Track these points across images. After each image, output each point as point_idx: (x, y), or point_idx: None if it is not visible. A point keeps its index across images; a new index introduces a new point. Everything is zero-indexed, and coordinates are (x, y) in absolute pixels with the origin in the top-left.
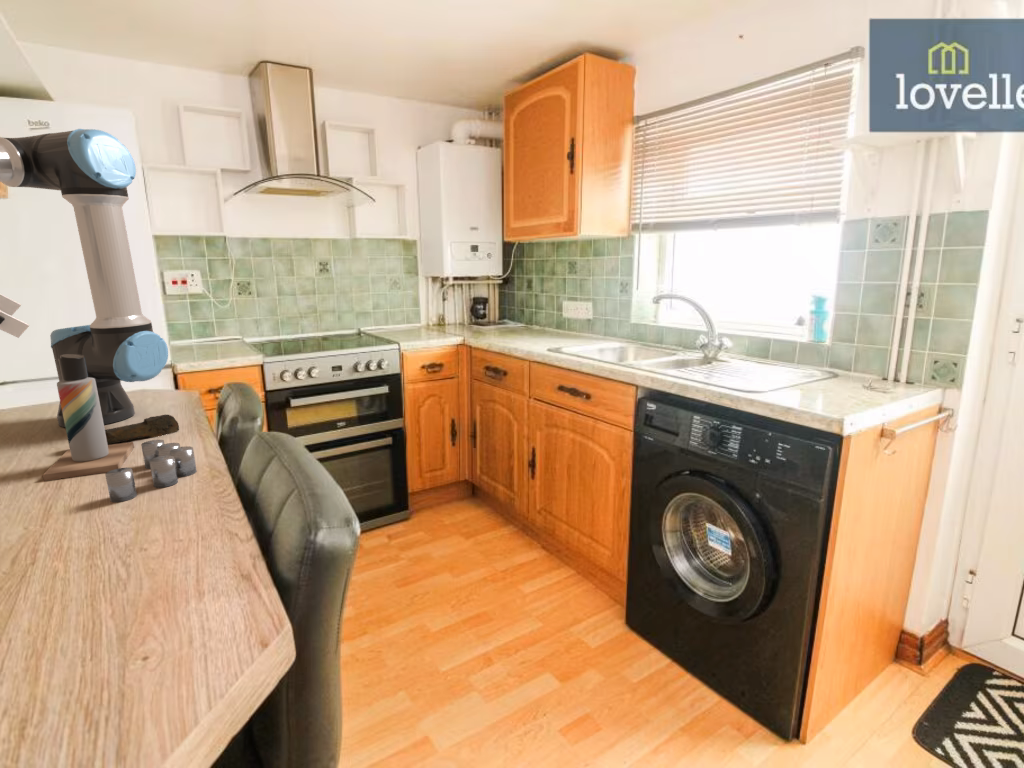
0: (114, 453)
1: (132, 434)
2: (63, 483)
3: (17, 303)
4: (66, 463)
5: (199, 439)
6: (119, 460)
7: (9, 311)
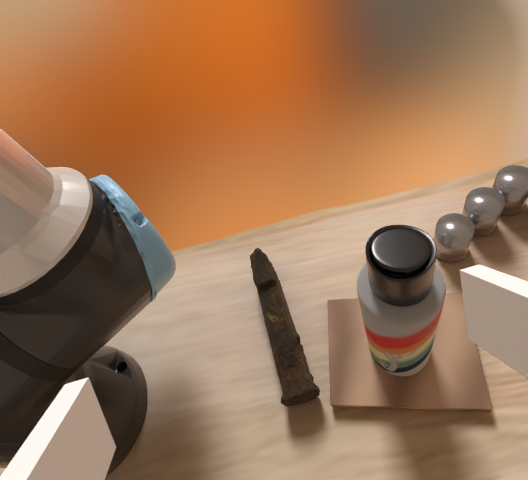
0: None
1: (287, 307)
2: (512, 371)
3: (82, 390)
4: (426, 383)
5: (328, 220)
6: None
7: (104, 446)
